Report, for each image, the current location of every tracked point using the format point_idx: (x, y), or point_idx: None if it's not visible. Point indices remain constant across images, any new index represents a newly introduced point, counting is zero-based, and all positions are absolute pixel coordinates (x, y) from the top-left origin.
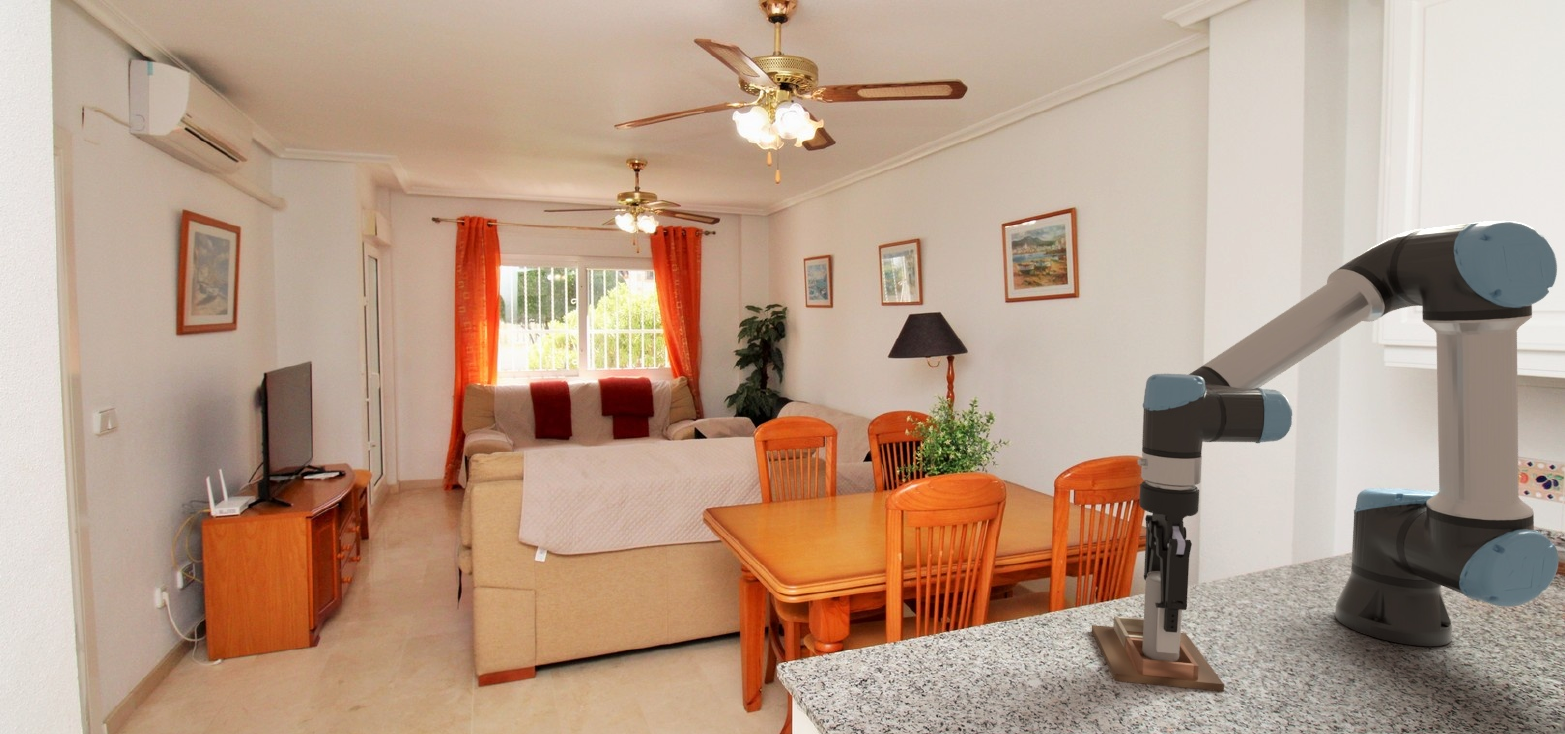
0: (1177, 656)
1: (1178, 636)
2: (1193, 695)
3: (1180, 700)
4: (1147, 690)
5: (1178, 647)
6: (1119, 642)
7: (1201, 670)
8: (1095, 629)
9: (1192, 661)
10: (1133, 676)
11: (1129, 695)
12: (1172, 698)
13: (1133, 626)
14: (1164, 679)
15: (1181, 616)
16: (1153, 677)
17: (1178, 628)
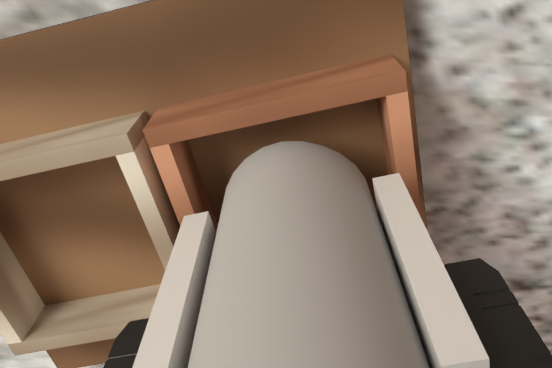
0: (334, 155)
1: (422, 223)
2: (466, 66)
3: (522, 113)
4: (470, 209)
5: (406, 188)
6: None
7: (280, 31)
8: (90, 360)
9: (362, 94)
10: None
11: (522, 256)
12: (512, 138)
13: (9, 276)
14: (420, 171)
15: (319, 261)
16: (423, 206)
17: (437, 254)
